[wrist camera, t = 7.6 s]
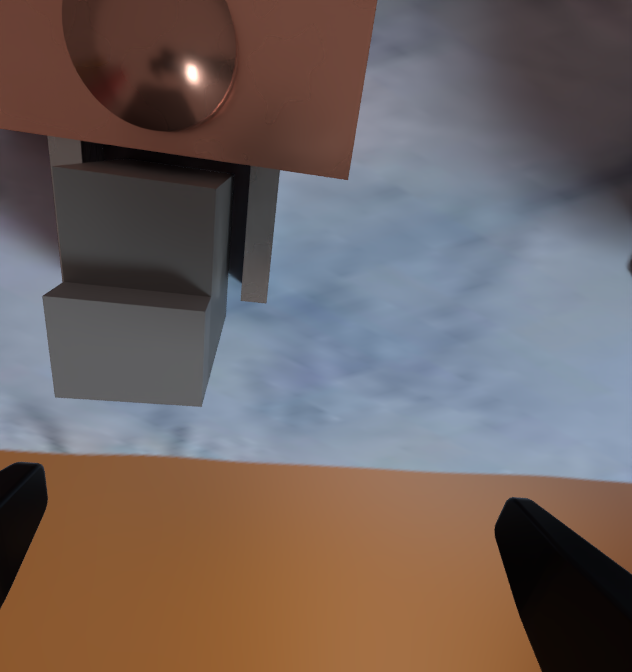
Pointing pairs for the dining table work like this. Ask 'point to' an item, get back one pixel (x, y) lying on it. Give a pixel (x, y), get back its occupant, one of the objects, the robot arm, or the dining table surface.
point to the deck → (193, 88)
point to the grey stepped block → (138, 280)
